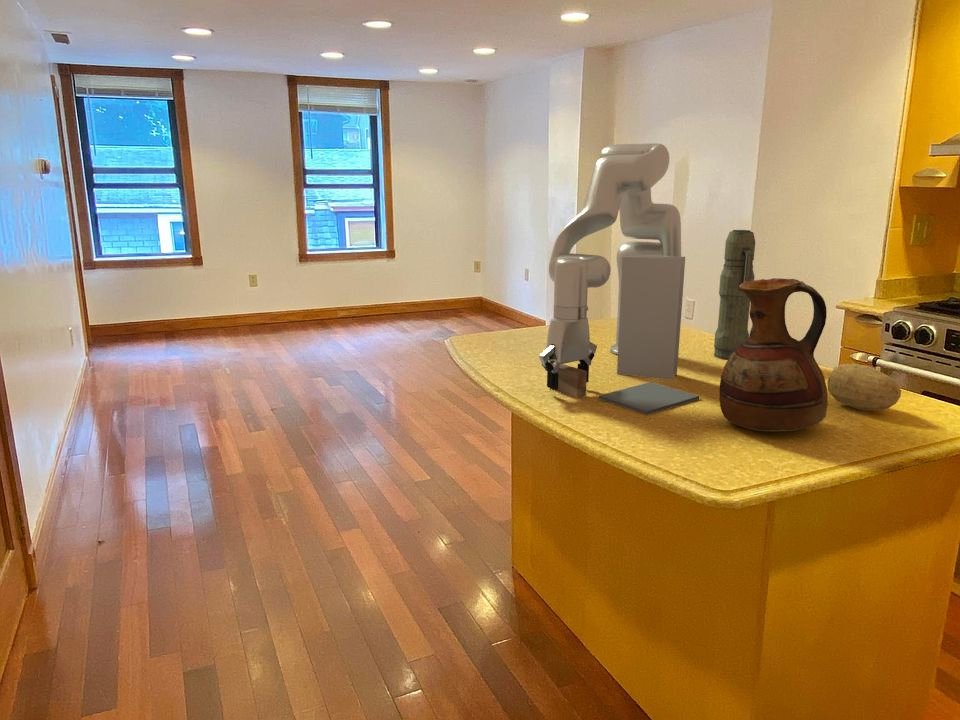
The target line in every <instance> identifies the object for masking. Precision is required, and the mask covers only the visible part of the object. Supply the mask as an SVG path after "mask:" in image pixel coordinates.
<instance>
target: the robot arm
mask: <svg viewBox="0 0 960 720" xmlns="http://www.w3.org/2000/svg"><path fill="white" fill-rule="evenodd" d="M599 156H600V157H599V159H598V160H597V161H596V162H595V163H594V166H593V168H592V171H591V175H590V179H589V183H588V186H587V191H586V194H585V198H584V202H583V206H582V209H581V211H580V212H579V213H578V214H577V215H576V216H574V217H573V218H572V219H571V220H570V221H568V223H567V224H566V225H565V226H564V227H563V228H562V230H561V231H560V232H559V233H558V235H557V236H556V238H555V241H554V244H553V247H552V252H551V256H550V259H549V265H548V275H549V278H550V280H551V281H552V282H553V285H554V286H553V292H554V293H553V318H551V319H550V322H549V326H548V331H547V337H546V349H545V350H543V352H542V353H540V354H539V356H538V357H539V360H540V363H541V366H542V367H543V368H544V370H545V372H547V373H546V375H547V376H546V388H548V389H550V388H551V389H554V390H557V389H558V381H559V374H558V373H557V370H558V368H559V367H560V365H561V364H564V365H566V364H568V363H574V362H579V363H577V368H578V369H581V370H585V371H587V381H586V383H589V376H590V366H591V365H592V361H593V359H594V358H595V353H596V350H597V348H598V346H597V345H596V344H595V343H593V342H592V341H591V340H590V339H591V337H590V324H589V319H588V317H587V315H588V311H589V306H588V293H589V292H588V289H589V288H594V289H595V288H600V287H602V286H604V285H605V284H606V283H607V282H608V280H609V279H610V276H611V269H612V268H611V265H610V262H609V261H608V259H607V258H606V257H604V256H601V255H599V254H584V253H571V251H572V249H573V248H574V246H575V245H576V244H577V243H578V242H579V241H581V240H582V239H584V238H585V237H587V236H589V235H592V234H595V233H596V232H600V231H601V230H604V229H606V228H609V227H611V226H612V225H614V224H615V222H617V218H618V214H619V225H620V226H619V227H620V231H621V234H622V235H623V236H624V237H626V238H628V239H632V241H627V242H624V243H622V244H621V245H620V246H619V247H618V249H617V253H616V266H617V267H616V268H617V272H618V273H617V274H618V275H617V276H618V295H617V315H616V316H617V317H616V333H615V334H616V336H615V344H612V345H611V346H610V347H609V348H610V349H609V351H610V353H613V354H615V355H617V356H618V341H619V321H620V301H621V281H622V260H623V256H628V254H631V255H655V256H679V257H682V221H681V218H682V217H681V214H680V211H679V209H678V207H676V206H675V205H673V204H671V203H654V202H653V200H652V190H651V189H652V188H653V187H654V186H655V185H656V184H658V182H659V181H661V180H662V178H663V177H664V176H665V175H666V173H667V171H668V169H669V166H670V151H669V150H668V148H667V147H666V146H665V145H663V144H661V143H657V142H656V143H618V144H611V145H607V146H605V147H604V148H602V149H601V151H600V154H599ZM633 239H635V240H634V241H633ZM639 240H653V241H639ZM655 240H656V242H654V241H655ZM657 241H658V242H657ZM553 364H555V365H554V366H553ZM551 389H550V390H551ZM554 390H553V391H554Z"/></svg>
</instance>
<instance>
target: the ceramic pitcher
mask: <svg viewBox="0 0 960 720" xmlns="http://www.w3.org/2000/svg"><path fill="white" fill-rule="evenodd" d="M739 288H740V289H741V290H742V291H743V292H744V293H745V294H746V295H747V296H748V298H749V300H750V309H749V317H750V321H751V324H752V325H751V328H750V332H749V338H748V339H747V340H746V341H745V342H743V343H742V344H740V345H739V346H738V348H737V349H736V350H735V351H734V352H733V353H732V354H731V356H730V357H729V359H728V360H726V362H725V364H724V366H723V370H722V373H721V376H720V381H719V391H718V392H719V393H718V395H719V397H718V398H719V405H720V406H719V407H720V410H721V413H722V416H723V418H724V419H726V420H727V421H728V422H730V423H731V424H734V425H736V426H738V427H741V428H745V429H749V430H752V431H753V430H754V431H759V432H795V431H800V430H802V429H803V430H804V429H807V428H809V427H812V426H815V425H818V424H819V423H821V422H822V421H823V420H824V419H825V418H826V416H827V410H828V404H829V397H828V396H829V395H828V393H829V392H828V386H827V382H826V379H825V376H824V373H823V371H822V369H821V367H820V366H819V364H818V363H817V361H816V359H815V357H814V355H815V354H814V353H815V350H816V347H817V345H818V343H819V340H820V338H821V336H822V334H823V331H824V328H825V326H826V321H827V306H826V301H825V299H824V297H822V295H821V294H820V293H819V292H818V290H816V288H814V287H813V286H810V285H808V284H806V283H805V282H804V281H802V280H799V279H795V278H769V279H765V278H763V279H754V280H752V281H748V282H743V283H741V284H740V285H739ZM799 292H800V293H802V292H803V293H806V294H808V295H809V296H810V298H811V301H812V306H813V317H812V321H811V324H810V326H809V328H808V330H807V332H806V333H805V335H804V337H803V338H801V340H799V339H796V338H794V337H792V336H791V335H790V334H789V331H788V328H787V324H786V305H787V300H788V298H789V297H790V296H791V295H792V294H794V293H799Z"/></svg>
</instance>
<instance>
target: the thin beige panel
mask: <svg viewBox="0 0 960 720" xmlns="http://www.w3.org/2000/svg"><path fill="white" fill-rule="evenodd" d="M685 268H686V256H681V257H679V256H655V255H631V254H628V256H623V260H622V281H621V301H620V321H619V341H618V355H617V362H616V363H617V365H616V366H617V368H616V374H617V375H623V376H624V375H625V376H634V377H644V378H653V379H661V380H668V381H674V376H677V375H678V365H679V351H680V338H681V337H680V336H681V323H682V322H681V321H682V308H683V297H684V296H683V295H684V283H685V282H684V280H685V271H686V270H685Z"/></svg>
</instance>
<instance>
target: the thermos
mask: <svg viewBox="0 0 960 720" xmlns="http://www.w3.org/2000/svg"><path fill="white" fill-rule="evenodd" d="M755 251H756V238H755V233H754V232H753V231H751V230H749V229H733V230H732V231H729V232H728V235H727V237H726V240H725V245H724V255H723V257H724V264H723V269H722V270H721V272H720V277H719V287H718V288H719V289H718V294H719V295H718V296H719V306H718V307H719V308H718V310H719V311H718V318H717V319H718V321H717V328H716V331H715V333H714V340H713V341H714V345H713V347H714V353H713V356H714V358H717V359H720V360H726V361H727V360H728V359H729V357H730V356H731V354H732V353H733V352H734V351H735V350H736V349H737V348H738V346H739V345H740V344H742V343H743V342H745V341H746V340H747V339H748V338H749V335H750V332H749V329H748V327H749V320H750V319H749V317H750V304H751V303H750V300H749V298H748V296H747V295H746V294H745V293H744V292H743V291H742V290H741V289H740V288H739V285H740V284H741V283H743V282H748V281H752V280H755V277H756V276H755V273H754V260H755Z"/></svg>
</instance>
